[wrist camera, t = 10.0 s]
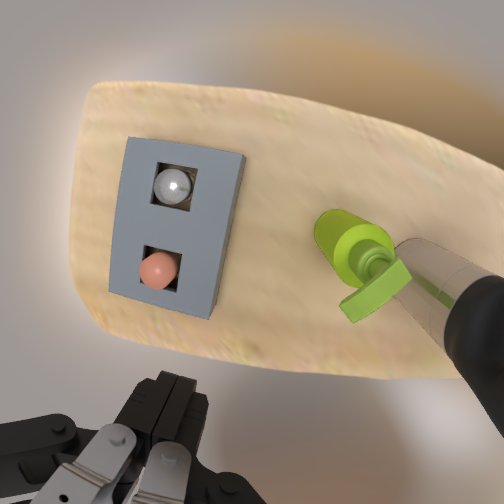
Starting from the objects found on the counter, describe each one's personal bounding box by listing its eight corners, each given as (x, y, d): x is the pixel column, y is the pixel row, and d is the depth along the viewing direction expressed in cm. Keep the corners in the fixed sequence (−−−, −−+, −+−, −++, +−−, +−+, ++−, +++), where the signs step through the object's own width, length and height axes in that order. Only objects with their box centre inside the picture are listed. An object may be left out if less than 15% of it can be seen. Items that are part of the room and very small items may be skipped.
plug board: (246, 157, 37) (242, 154, 32) (215, 304, 42) (208, 319, 37) (144, 140, 37) (128, 136, 32) (124, 279, 42) (108, 291, 37)
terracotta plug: (185, 250, 39) (173, 260, 34) (180, 279, 40) (168, 293, 35) (156, 244, 39) (141, 252, 34) (152, 272, 40) (137, 284, 35)
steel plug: (201, 172, 37) (190, 172, 32) (195, 204, 38) (184, 207, 33) (171, 167, 37) (157, 166, 32) (165, 198, 38) (151, 200, 33)
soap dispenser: (298, 234, 39) (322, 287, 20) (340, 200, 38) (403, 220, 18) (326, 268, 40) (368, 344, 20) (366, 235, 38) (441, 285, 19)
